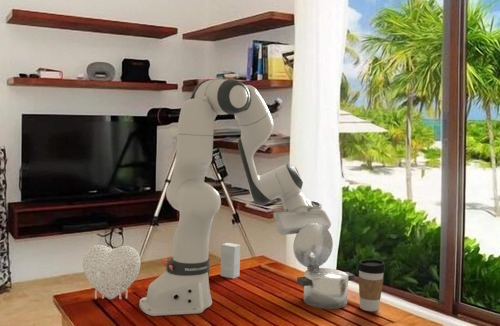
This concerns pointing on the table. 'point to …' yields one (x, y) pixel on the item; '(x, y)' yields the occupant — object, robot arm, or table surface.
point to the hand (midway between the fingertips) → (311, 242)
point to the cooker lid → (313, 245)
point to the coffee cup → (370, 283)
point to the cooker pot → (325, 287)
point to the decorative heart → (111, 269)
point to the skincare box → (230, 260)
